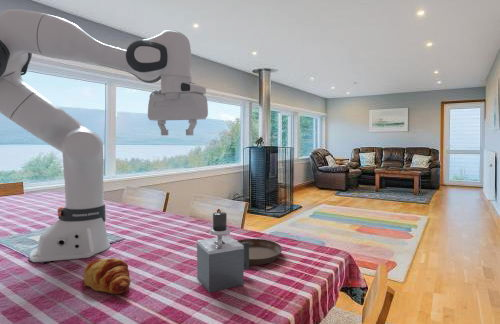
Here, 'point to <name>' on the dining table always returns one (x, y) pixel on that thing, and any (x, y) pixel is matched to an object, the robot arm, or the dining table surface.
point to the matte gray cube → (221, 263)
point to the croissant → (107, 275)
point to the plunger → (219, 226)
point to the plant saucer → (262, 251)
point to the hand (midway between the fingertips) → (176, 135)
